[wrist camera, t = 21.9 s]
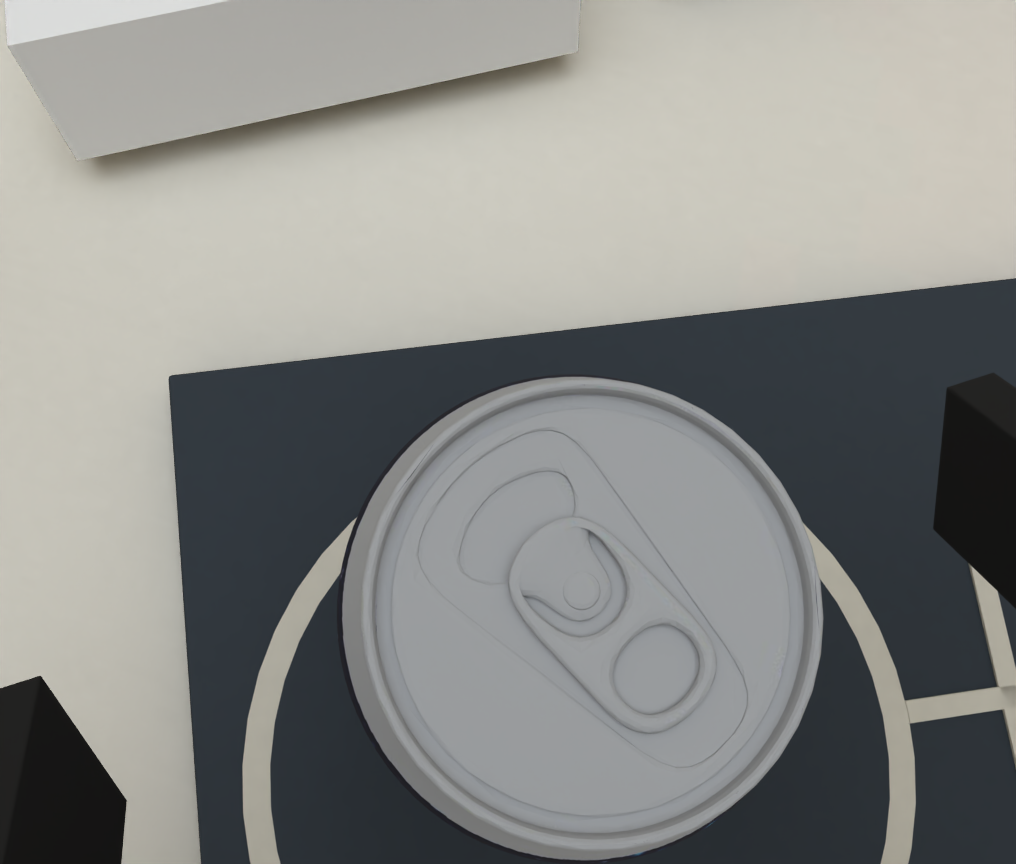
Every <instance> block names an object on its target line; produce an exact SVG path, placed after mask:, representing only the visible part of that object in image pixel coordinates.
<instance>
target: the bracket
mask: <svg viewBox="0 0 1016 864" xmlns="http://www.w3.org/2000/svg"><path fill="white" fill-rule="evenodd" d="M580 9H581V0H5V15H6V31H7V46H8V48H9V49H10V51H11V53H12V54H13V56H14V58H15V59H16V61H17V62H18V64H19V66H20V67H21V69H22V71H23V72H24V74H25V76H26V77H27V79H28V81H29V82H30V84H31V86H32V87H33V89H34V91H35V92H36V94H37V95H38V97H39V99H40V100H41V102H42V104H43V105H44V107H45V109H46V110H47V112H48V114H49V115H50V117H51V119H52V120H53V122H54V123H55V125H56V127H57V128H58V130H59V132H60V133H61V135H62V137H63V138H64V140H65V142H66V143H67V145H68V147H69V148H70V150H71V152H72V153H73V155H74V156H75V158H76V160H77V161H81V160H85V159H90V158H95V157H99V156H104V155H108V154H113V153H117V152H122V151H127V150H131V149H136V148H140V147H145V146H150V145H154V144H159V143H163V142H168V141H172V140H177V139H182V138H186V137H191V136H195V135H200V134H204V133H209V132H214V131H218V130H223V129H227V128H232V127H237V126H241V125H246V124H250V123H255V122H259V121H264V120H269V119H273V118H278V117H282V116H287V115H292V114H296V113H301V112H305V111H310V110H314V109H319V108H324V107H328V106H333V105H337V104H342V103H346V102H351V101H356V100H360V99H365V98H369V97H374V96H379V95H383V94H388V93H392V92H397V91H401V90H406V89H411V88H415V87H420V86H424V85H429V84H433V83H438V82H443V81H447V80H452V79H456V78H461V77H466V76H470V75H475V74H479V73H484V72H488V71H493V70H498V69H502V68H507V67H511V66H516V65H520V64H525V63H530V62H534V61H539V60H543V59H548V58H553V57H557V56H562V55H566V54H571V53H575V52H578V43H579V26H580Z"/></svg>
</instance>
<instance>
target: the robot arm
mask: <svg viewBox="0 0 1016 864" xmlns="http://www.w3.org/2000/svg"><path fill="white" fill-rule="evenodd" d="M933 529H934V530H935V531H936V532H937V533H938V534H939V535H940V536H941V537H942V538H943V539H944V540H945V541H946V542H947V543H948V544H949V545H950V546H951V547H952V548H953V549H954V550H955V551H956V552H957V553H958V554H959V555H960V556H961V557H963V558H964V559H965V560H966V561H967V562H968V563H969V564H970V565H971V566H972V567H973V568H974V569H975V570H976V571H977V572H978V573H979V574H980V575H981V576H982V577H983V578H984V579H985V580H986V581H987V582H988V583H989V584H991V585H992V586H993V587H994V588H995V589H996V590H997V591H998V592H999V593H1000V594H1001V595H1002V596H1003V597H1004V598H1005V599H1006V600H1007V601H1008V602H1009V603H1010V604H1011V605H1012V606H1013V607H1014V608H1015V609H1016V388H1015V387H1014V386H1013V385H1011V384H1010V383H1008V382H1007V381H1005V380H1004V379H1002V378H1001V377H999V376H998V375H997V374H995V373H994V372H993V373H990V374H987V375H984V376H981V377H978V378H975V379H971V380H968V381H965V382H962V383H959V384H956V385H953V386H949V387H947V390H946V400H945V411H944V421H943V431H942V441H941V452H940V462H939V472H938V483H937V493H936V503H935V514H934V524H933ZM126 801H127V800H126V799H125V797H124V796H123V794H122V793H121V792H120V790H119V789H118V787H117V786H116V784H115V783H114V781H113V780H112V778H111V777H110V776H109V774H108V773H107V771H106V770H105V768H104V767H103V765H102V764H101V763H100V761H99V760H98V758H97V757H96V755H95V754H94V752H93V751H92V749H91V748H90V747H89V745H88V744H87V742H86V741H85V739H84V738H83V736H82V735H81V734H80V732H79V731H78V729H77V728H76V726H75V725H74V723H73V722H72V720H71V719H70V718H69V716H68V715H67V713H66V712H65V710H64V709H63V707H62V706H61V705H60V703H59V702H58V700H57V699H56V697H55V696H54V694H53V693H52V691H51V690H50V689H49V687H48V686H47V684H46V683H45V681H44V680H43V678H42V677H41V676H38V677H35V678H32V679H29V680H25V681H22V682H19V683H16V684H13V685H10V686H7V687H3V688H0V864H121V859H122V847H123V836H124V824H125V813H126Z"/></svg>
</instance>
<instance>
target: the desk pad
mask: <svg viewBox="0 0 1016 864" xmlns="http://www.w3.org/2000/svg"><path fill="white" fill-rule="evenodd" d="M993 372H994V373H995V374H997V375H998V376H999V377H1001V378H1002V379H1004V380H1005V381H1007V382H1008V383H1010V384H1011V385H1013V386H1014V387H1015V388H1016V278H1015V279H1006V280H998V281H989V282H980V283H972V284H963V285H954V286H945V287H937V288H928V289H919V290H911V291H902V292H893V293H885V294H876V295H867V296H858V297H850V298H841V299H832V300H824V301H815V302H806V303H798V304H789V305H780V306H771V307H763V308H754V309H745V310H737V311H728V312H719V313H711V314H702V315H693V316H684V317H676V318H667V319H658V320H650V321H641V322H632V323H624V324H615V325H606V326H597V327H589V328H580V329H571V330H563V331H554V332H545V333H536V334H528V335H519V336H510V337H502V338H493V339H484V340H476V341H467V342H458V343H449V344H441V345H432V346H423V347H415V348H406V349H397V350H389V351H380V352H371V353H362V354H354V355H345V356H336V357H328V358H319V359H310V360H302V361H293V362H284V363H275V364H267V365H258V366H249V367H241V368H232V369H223V370H215V371H206V372H197V373H188V374H180V375H172V376H170V377H169V391H170V406H171V421H172V436H173V451H174V466H175V481H176V495H177V510H178V525H179V540H180V555H181V570H182V585H183V600H184V615H185V630H186V644H187V659H188V674H189V689H190V704H191V719H192V734H193V749H194V764H195V779H196V794H197V808H198V823H199V838H200V853H201V864H561V863H552V862H545V861H538V860H533V859H529V858H525V857H520V856H517V855H513V854H510V853H507V852H504V851H501V850H498V849H496V848H493V847H491V846H488V845H486V844H483V843H481V842H479V841H477V840H475V839H473V838H471V837H469V836H467V835H465V834H463V833H462V832H460V831H459V830H457V829H455V828H454V827H452V826H451V825H449V824H447V823H446V822H444V821H443V820H442V819H440V818H439V817H438V816H436V815H435V814H434V813H432V812H431V811H430V810H429V809H427V808H426V807H425V806H424V805H423V804H422V803H421V802H419V801H418V800H417V799H416V798H415V797H414V796H413V795H412V794H411V793H410V792H409V791H408V790H407V789H406V788H405V787H404V786H403V785H402V784H401V783H400V781H399V780H398V779H397V778H396V777H395V775H394V774H393V773H392V772H391V771H390V769H389V768H388V767H387V765H386V764H385V762H384V761H383V760H382V758H381V757H380V755H379V754H378V752H377V751H376V749H375V748H374V746H373V744H372V742H371V741H370V739H369V737H368V736H367V734H366V732H365V730H364V728H363V726H362V724H361V721H360V719H359V717H358V715H357V713H356V710H355V707H354V705H353V702H352V700H351V697H350V694H349V690H348V687H347V684H346V680H345V677H344V672H343V667H342V663H341V658H340V651H339V643H338V631H337V598H338V588H339V579H340V574H341V568H342V562H343V558H344V555H345V551H346V547H347V543H348V540H349V537H350V534H351V532H352V529H353V526H354V523H355V521H356V519H357V516H358V514H359V512H360V510H361V507H362V506H363V504H364V502H365V500H366V498H367V496H368V494H369V492H370V491H371V489H372V487H373V486H374V484H375V483H376V481H377V480H378V478H379V476H380V475H381V474H382V472H383V471H384V470H385V468H386V467H387V466H388V464H389V463H390V462H391V460H392V459H393V458H394V457H395V456H396V455H397V454H398V452H399V451H400V450H401V449H402V448H403V447H404V446H405V445H406V444H407V443H408V442H409V441H410V440H411V439H412V438H413V437H414V436H415V435H416V434H417V433H418V432H420V431H421V430H422V429H423V428H424V427H426V426H427V425H428V424H429V423H430V422H432V421H433V420H435V419H436V418H437V417H439V416H440V415H442V414H443V413H445V412H446V411H448V410H449V409H451V408H453V407H454V406H456V405H458V404H459V403H461V402H463V401H465V400H467V399H469V398H471V397H473V396H475V395H477V394H480V393H482V392H485V391H487V390H490V389H492V388H495V387H498V386H501V385H504V384H507V383H511V382H515V381H519V380H523V379H528V378H534V377H540V376H548V375H561V374H584V375H598V376H605V377H611V378H618V379H622V380H626V381H631V382H635V383H638V384H641V385H644V386H648V387H651V388H653V389H656V390H659V391H662V392H665V393H668V394H671V395H674V396H676V397H678V398H680V399H682V400H684V401H686V402H688V403H690V404H692V405H694V406H696V407H698V408H700V409H702V410H704V411H706V412H707V413H709V414H710V415H712V416H713V417H714V418H716V419H717V420H719V421H720V422H722V423H723V424H725V425H726V426H728V427H729V428H730V429H732V430H733V431H734V432H735V433H736V434H737V435H738V436H740V437H741V438H742V439H743V440H744V441H745V442H746V443H747V444H748V445H749V446H750V447H751V448H752V449H754V450H755V451H756V452H757V453H758V454H759V455H760V457H761V458H762V459H763V460H764V462H765V463H766V464H767V465H768V467H769V468H770V469H771V470H772V472H773V473H774V474H775V475H776V477H777V478H778V479H779V480H780V482H781V483H782V485H783V487H784V489H785V490H786V492H787V494H788V495H789V497H790V499H791V501H792V502H793V504H794V506H795V507H796V509H797V511H798V513H799V515H800V517H801V520H802V522H803V525H804V527H805V530H806V532H807V535H808V538H809V540H810V543H811V545H812V548H813V552H814V557H815V561H816V565H817V569H818V574H819V578H820V583H821V595H822V608H823V631H822V645H821V656H820V661H819V665H818V669H817V674H816V678H815V682H814V687H813V691H812V694H811V696H810V699H809V701H808V704H807V706H806V709H805V711H804V714H803V716H802V719H801V721H800V724H799V726H798V728H797V729H796V731H795V733H794V734H793V736H792V738H791V739H790V741H789V743H788V744H787V746H786V748H785V749H784V751H783V753H782V754H781V756H780V757H779V759H778V760H777V761H776V762H775V764H774V765H773V766H772V767H771V768H770V770H769V771H768V772H767V773H766V774H765V775H764V777H763V778H762V779H761V780H760V781H759V782H758V783H757V785H756V786H755V787H754V788H753V789H752V790H751V791H750V792H749V793H748V794H747V795H746V796H745V797H744V798H743V799H742V800H741V801H740V802H739V803H737V804H736V805H735V806H734V807H733V808H732V809H730V810H729V811H728V812H727V813H726V814H724V815H723V816H722V817H720V818H719V819H718V820H716V821H715V822H713V823H712V824H711V825H709V826H708V827H706V828H704V829H703V830H701V831H699V832H698V833H696V834H694V835H693V836H691V837H689V838H687V839H685V840H683V841H681V842H679V843H677V844H675V845H672V846H670V847H667V848H665V849H662V850H659V851H657V852H654V853H650V854H647V855H644V856H640V857H637V858H632V859H627V860H622V861H617V862H609V863H600V864H1016V609H1015V608H1014V607H1013V606H1012V605H1011V604H1010V603H1009V602H1008V601H1007V600H1006V599H1005V598H1004V597H1003V596H1002V595H1001V594H1000V593H999V592H998V591H997V590H996V589H995V588H994V587H993V586H992V585H991V584H989V583H988V582H987V581H986V580H985V579H984V578H983V577H982V576H981V575H980V574H979V573H978V572H977V571H976V570H975V569H974V568H973V567H972V566H971V565H970V564H969V563H968V562H967V561H966V560H965V559H964V558H963V557H961V556H960V555H959V554H958V553H957V552H956V551H955V550H954V549H953V548H952V547H951V546H950V545H949V544H948V543H947V542H946V541H945V540H944V539H943V538H942V537H941V536H940V535H939V534H938V533H937V532H936V531H935V530H934V529H933V524H934V514H935V503H936V493H937V483H938V472H939V462H940V452H941V441H942V431H943V421H944V411H945V400H946V390H947V387H949V386H953V385H956V384H959V383H962V382H965V381H968V380H971V379H975V378H978V377H981V376H984V375H987V374H990V373H993Z"/></svg>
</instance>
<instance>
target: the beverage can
mask: <svg viewBox="0 0 1016 864" xmlns="http://www.w3.org/2000/svg"><path fill="white" fill-rule="evenodd" d="M337 631H338V643H339V651H340V658H341V663H342V667H343V672H344V677H345V680H346V684H347V687H348V690H349V694H350V697H351V700H352V702H353V705H354V707H355V710H356V713H357V715H358V717H359V719H360V721H361V724H362V726H363V728H364V730H365V732H366V734H367V736H368V737H369V739H370V741H371V742H372V744H373V746H374V748H375V749H376V751H377V752H378V754H379V755H380V757H381V758H382V760H383V761H384V762H385V764H386V765H387V767H388V768H389V769H390V771H391V772H392V773H393V774H394V775H395V777H396V778H397V779H398V780H399V781H400V783H401V784H402V785H403V786H404V787H405V788H406V789H407V790H408V791H409V792H410V793H411V794H412V795H413V796H414V797H415V798H416V799H417V800H418V801H419V802H421V803H422V804H423V805H424V806H425V807H426V808H427V809H429V810H430V811H431V812H432V813H434V814H435V815H436V816H438V817H439V818H440V819H442V820H443V821H444V822H446V823H447V824H449V825H451V826H452V827H454V828H455V829H457V830H459V831H460V832H462V833H463V834H465V835H467V836H469V837H471V838H473V839H475V840H477V841H479V842H481V843H483V844H486V845H488V846H491V847H493V848H496V849H498V850H501V851H504V852H507V853H510V854H513V855H517V856H520V857H525V858H529V859H533V860H538V861H545V862H552V863H561V864H600V863H609V862H617V861H622V860H627V859H632V858H637V857H640V856H644V855H647V854H650V853H654V852H657V851H659V850H662V849H665V848H667V847H670V846H672V845H675V844H677V843H679V842H681V841H683V840H685V839H687V838H689V837H691V836H693V835H694V834H696V833H698V832H699V831H701V830H703V829H704V828H706V827H708V826H709V825H711V824H712V823H713V822H715V821H716V820H718V819H719V818H720V817H722V816H723V815H724V814H726V813H727V812H728V811H729V810H730V809H732V808H733V807H734V806H735V805H736V804H737V803H739V802H740V801H741V800H742V799H743V798H744V797H745V796H746V795H747V794H748V793H749V792H750V791H751V790H752V789H753V788H754V787H755V786H756V785H757V783H758V782H759V781H760V780H761V779H762V778H763V777H764V775H765V774H766V773H767V772H768V771H769V770H770V768H771V767H772V766H773V765H774V764H775V762H776V761H777V760H778V759H779V757H780V756H781V754H782V753H783V751H784V749H785V748H786V746H787V744H788V743H789V741H790V739H791V738H792V736H793V734H794V733H795V731H796V729H797V728H798V726H799V724H800V721H801V719H802V716H803V714H804V711H805V709H806V706H807V704H808V701H809V699H810V696H811V694H812V691H813V687H814V682H815V678H816V674H817V669H818V665H819V661H820V656H821V645H822V631H823V608H822V595H821V583H820V578H819V574H818V569H817V565H816V561H815V557H814V552H813V548H812V545H811V543H810V540H809V538H808V535H807V532H806V530H805V527H804V525H803V522H802V520H801V517H800V515H799V513H798V511H797V509H796V507H795V506H794V504H793V502H792V501H791V499H790V497H789V495H788V494H787V492H786V490H785V489H784V487H783V485H782V483H781V482H780V480H779V479H778V478H777V477H776V475H775V474H774V473H773V472H772V470H771V469H770V468H769V467H768V465H767V464H766V463H765V462H764V460H763V459H762V458H761V457H760V455H759V454H758V453H757V452H756V451H755V450H754V449H752V448H751V447H750V446H749V445H748V444H747V443H746V442H745V441H744V440H743V439H742V438H741V437H740V436H738V435H737V434H736V433H735V432H734V431H733V430H732V429H730V428H729V427H728V426H726V425H725V424H723V423H722V422H720V421H719V420H717V419H716V418H714V417H713V416H712V415H710V414H709V413H707V412H706V411H704V410H702V409H700V408H698V407H696V406H694V405H692V404H690V403H688V402H686V401H684V400H682V399H680V398H678V397H676V396H674V395H671V394H668V393H665V392H662V391H659V390H656V389H653V388H651V387H648V386H644V385H641V384H638V383H635V382H631V381H626V380H622V379H618V378H611V377H605V376H598V375H584V374H561V375H548V376H540V377H534V378H528V379H523V380H519V381H515V382H511V383H507V384H504V385H501V386H498V387H495V388H492V389H490V390H487V391H485V392H482V393H480V394H477V395H475V396H473V397H471V398H469V399H467V400H465V401H463V402H461V403H459V404H458V405H456V406H454V407H453V408H451V409H449V410H448V411H446V412H445V413H443V414H442V415H440V416H439V417H437V418H436V419H435V420H433V421H432V422H430V423H429V424H428V425H427V426H426V427H424V428H423V429H422V430H421V431H420V432H418V433H417V434H416V435H415V436H414V437H413V438H412V439H411V440H410V441H409V442H408V443H407V444H406V445H405V446H404V447H403V448H402V449H401V450H400V451H399V452H398V454H397V455H396V456H395V457H394V458H393V459H392V460H391V462H390V463H389V464H388V466H387V467H386V468H385V470H384V471H383V472H382V474H381V475H380V476H379V478H378V480H377V481H376V483H375V484H374V486H373V487H372V489H371V491H370V492H369V494H368V496H367V498H366V500H365V502H364V504H363V506H362V507H361V510H360V512H359V514H358V516H357V519H356V521H355V523H354V526H353V529H352V532H351V534H350V537H349V540H348V543H347V547H346V551H345V555H344V558H343V562H342V568H341V574H340V579H339V588H338V598H337Z"/></svg>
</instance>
